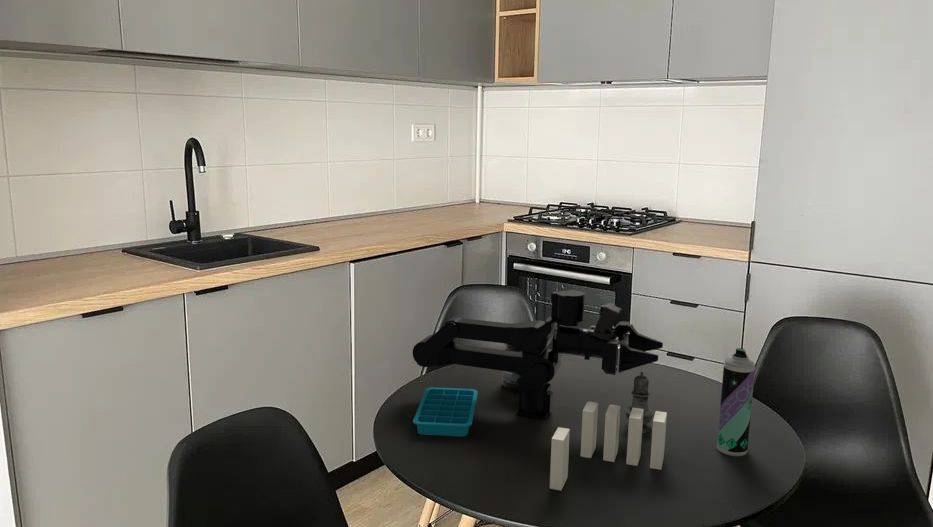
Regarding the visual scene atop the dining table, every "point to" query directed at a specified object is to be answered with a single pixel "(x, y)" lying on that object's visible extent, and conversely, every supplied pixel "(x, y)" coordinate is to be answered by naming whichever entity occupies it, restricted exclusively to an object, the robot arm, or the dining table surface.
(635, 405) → the chess piece
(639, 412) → the domino
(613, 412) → the domino
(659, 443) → the domino
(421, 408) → the ice cube tray
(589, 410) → the domino
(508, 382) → the supplement container
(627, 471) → the dining table surface
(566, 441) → the domino
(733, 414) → the spray can
